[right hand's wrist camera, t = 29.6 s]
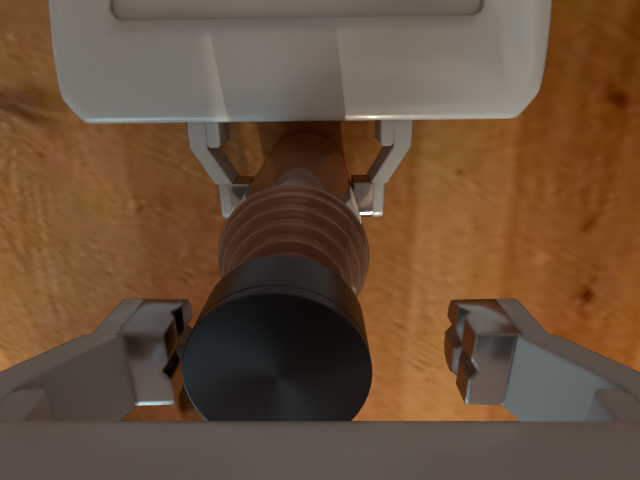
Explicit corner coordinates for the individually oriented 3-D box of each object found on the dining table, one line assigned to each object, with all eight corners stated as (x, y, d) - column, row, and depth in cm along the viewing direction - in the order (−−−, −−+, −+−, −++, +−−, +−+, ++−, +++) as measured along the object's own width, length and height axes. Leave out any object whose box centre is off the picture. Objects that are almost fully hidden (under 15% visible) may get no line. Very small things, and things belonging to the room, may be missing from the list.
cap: (394, 300, 10) (409, 345, 8) (315, 412, 11) (315, 471, 9) (245, 225, 9) (229, 258, 7) (179, 353, 10) (152, 406, 9)
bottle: (339, 215, 27) (371, 446, 10) (263, 205, 27) (165, 424, 10) (352, 138, 25) (417, 262, 8) (270, 126, 25) (166, 229, 8)
